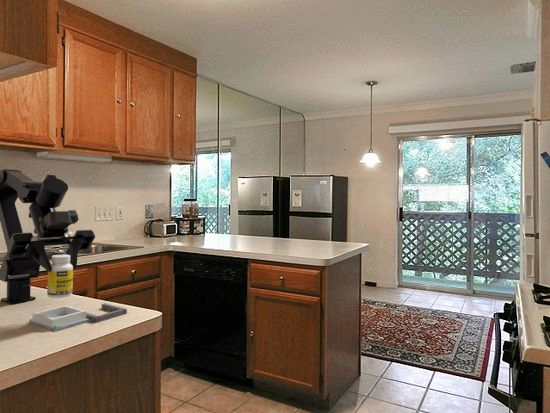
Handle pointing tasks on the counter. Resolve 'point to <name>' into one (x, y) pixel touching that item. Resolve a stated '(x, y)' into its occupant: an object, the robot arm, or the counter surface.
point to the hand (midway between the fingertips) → (63, 269)
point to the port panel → (59, 317)
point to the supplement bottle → (60, 277)
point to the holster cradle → (116, 312)
